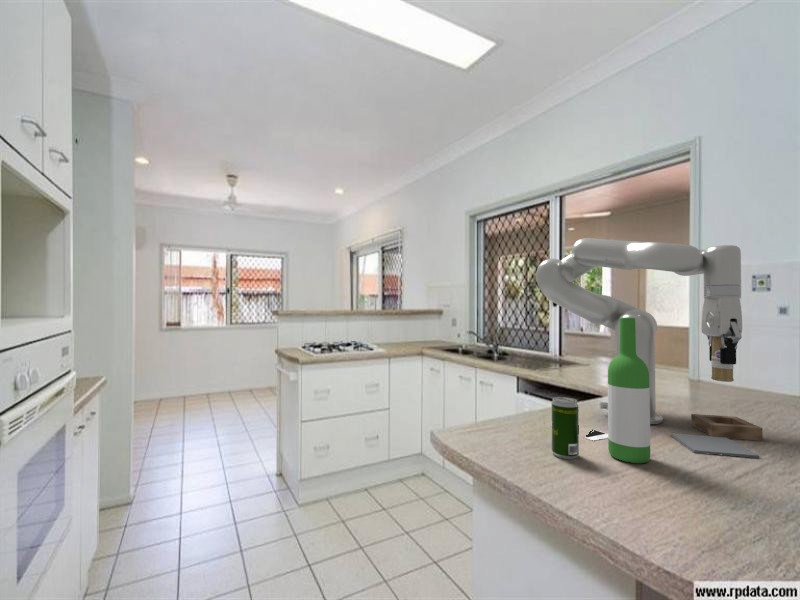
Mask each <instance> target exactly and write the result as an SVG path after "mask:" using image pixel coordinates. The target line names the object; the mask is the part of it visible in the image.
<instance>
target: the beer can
mask: <svg viewBox="0 0 800 600" xmlns="http://www.w3.org/2000/svg"><path fill="white" fill-rule="evenodd" d="M551 421H552V426H551V452H552V454H553V456H555V457H557V458H559V459H562V458H563V459H564V460H576V459H577V458H578V456H579V455H580V454H579V452H580V450H579V449H580V448H579V447H580V445H579V444H580V443H579V439H580V438H579V425H580V424H579V404H578V399H576V398H571V397H564V396H557V397H552V402H551ZM563 459H562V460H563Z"/></svg>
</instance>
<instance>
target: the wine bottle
mask: <svg viewBox="0 0 800 600" xmlns="http://www.w3.org/2000/svg"><path fill="white" fill-rule="evenodd" d="M607 403H608V410H607V434H608V439H607V441H608V442H607V443H608V446H607V447H608V452H609V454H610V456H611V457H612V458H614V459H616V460H618V459H619V461H621V460H622V461H621V462H625V463H629V462H631V463H630V464H644V463H645V464H646V463H647V462H649V461H650V459H651V424H650V387H649V370H648V368H647V366H646V364H645V363H644V361H643V360H642V359H640V358H639V357H638V356H637V355H636V331H635V318H620V353H619V355H618V356H617V355H616V356H615V357H613V359H611V361H610V362H609V365H608V368H607Z"/></svg>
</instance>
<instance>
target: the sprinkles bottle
mask: <svg viewBox="0 0 800 600" xmlns="http://www.w3.org/2000/svg"><path fill="white" fill-rule="evenodd" d="M711 336H712V335H711ZM725 336H731V334H725ZM727 340H728V339H726V342H727ZM720 348H722V343H721V336H712V361H711V380H713V381H717V382H722V383H723V382H725V383H731V382H734V380H735V379H734V364H721V363H720Z"/></svg>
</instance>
